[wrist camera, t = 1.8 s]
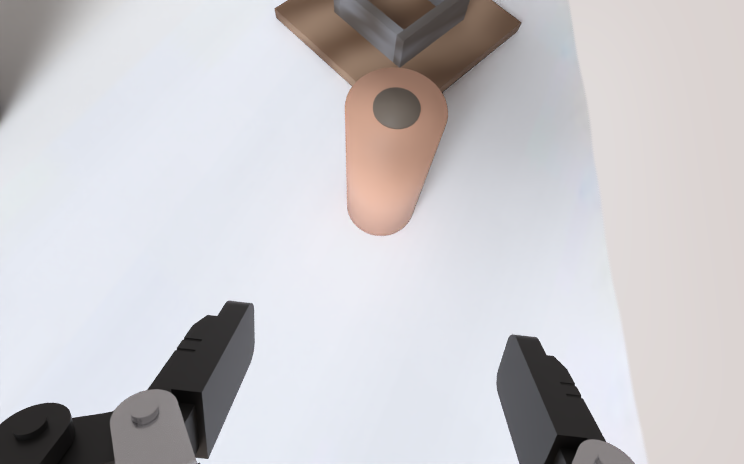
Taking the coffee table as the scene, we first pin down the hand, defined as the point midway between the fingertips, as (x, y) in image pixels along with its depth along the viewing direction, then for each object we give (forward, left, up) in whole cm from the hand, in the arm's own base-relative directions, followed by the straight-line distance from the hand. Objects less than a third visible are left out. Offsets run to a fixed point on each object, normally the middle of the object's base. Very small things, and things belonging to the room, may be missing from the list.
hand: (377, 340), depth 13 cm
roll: (-8, +9, -16) cm, 20 cm away
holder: (-20, +23, -16) cm, 34 cm away
